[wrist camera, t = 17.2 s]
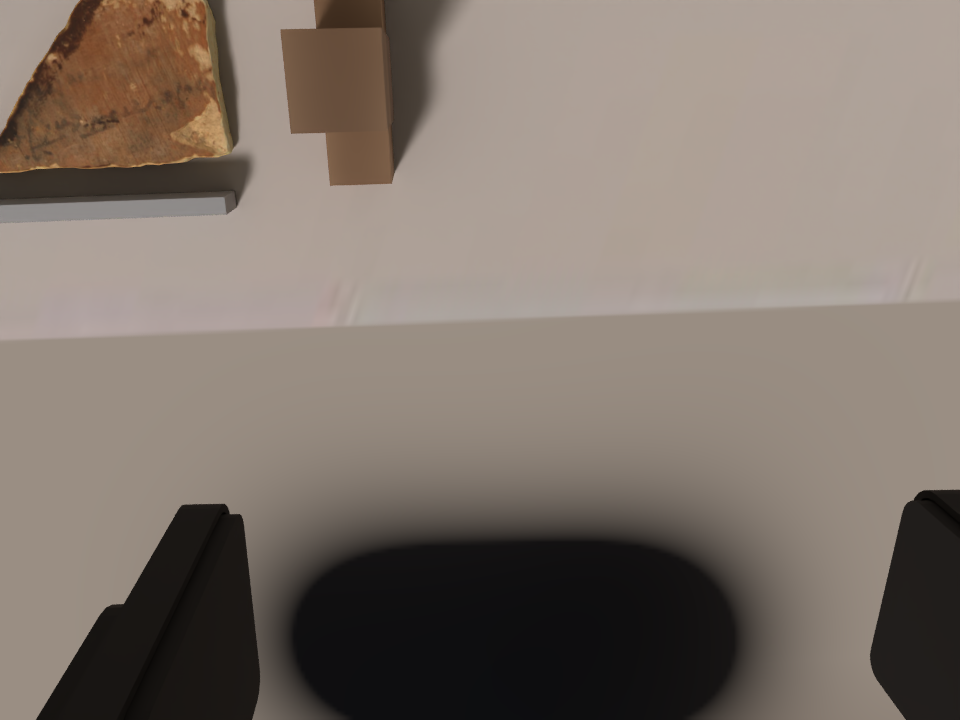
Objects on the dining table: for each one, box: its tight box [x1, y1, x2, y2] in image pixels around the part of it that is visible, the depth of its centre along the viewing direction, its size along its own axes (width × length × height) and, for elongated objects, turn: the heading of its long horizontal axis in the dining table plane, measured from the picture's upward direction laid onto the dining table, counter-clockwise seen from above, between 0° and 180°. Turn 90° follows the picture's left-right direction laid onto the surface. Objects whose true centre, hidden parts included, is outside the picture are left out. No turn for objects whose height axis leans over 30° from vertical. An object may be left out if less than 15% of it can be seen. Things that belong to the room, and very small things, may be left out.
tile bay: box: [0, 191, 237, 223], centre depth 32 cm, size 14×12×2 cm
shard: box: [0, 0, 234, 173], centre depth 33 cm, size 11×8×2 cm
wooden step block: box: [281, 0, 395, 186], centre depth 29 cm, size 3×8×11 cm, turn 2°
